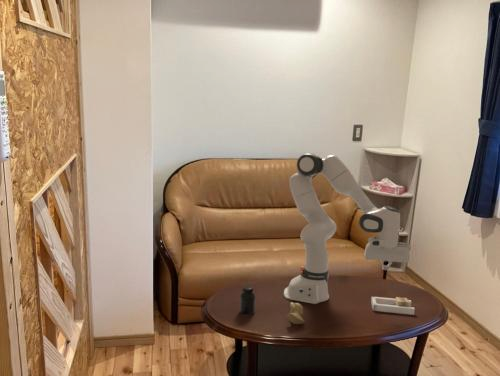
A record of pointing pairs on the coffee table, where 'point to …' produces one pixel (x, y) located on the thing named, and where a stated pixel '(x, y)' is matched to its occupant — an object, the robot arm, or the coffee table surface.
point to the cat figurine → (296, 313)
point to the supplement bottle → (247, 300)
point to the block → (401, 302)
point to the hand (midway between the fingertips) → (385, 269)
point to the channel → (390, 306)
